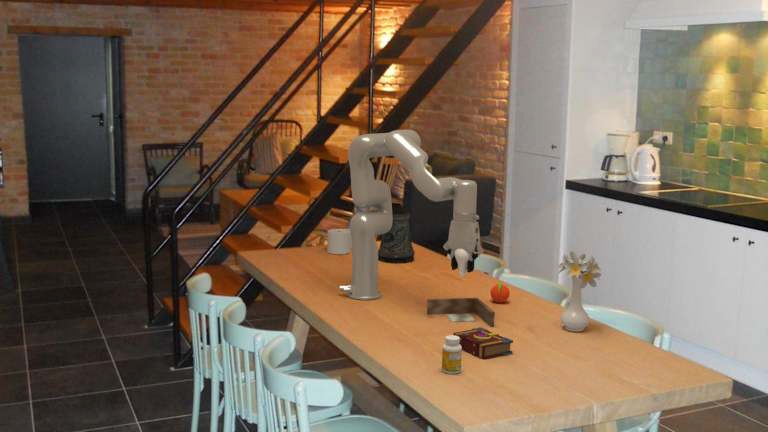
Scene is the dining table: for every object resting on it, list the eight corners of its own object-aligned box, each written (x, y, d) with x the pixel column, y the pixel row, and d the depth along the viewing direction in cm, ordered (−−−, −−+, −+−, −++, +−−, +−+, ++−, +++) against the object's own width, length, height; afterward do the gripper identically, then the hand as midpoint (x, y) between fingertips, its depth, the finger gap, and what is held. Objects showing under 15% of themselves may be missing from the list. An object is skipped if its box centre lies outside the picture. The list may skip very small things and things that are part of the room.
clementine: (508, 306, 302) (509, 287, 300) (489, 305, 303) (489, 285, 302) (509, 300, 309) (510, 281, 308) (490, 299, 311) (491, 280, 310)
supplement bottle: (440, 367, 237) (441, 334, 235) (459, 367, 238) (460, 334, 236) (443, 374, 232) (444, 340, 230) (462, 374, 232) (463, 340, 231)
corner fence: (441, 329, 273) (441, 314, 272) (426, 313, 290) (427, 299, 290) (494, 326, 277) (494, 312, 276) (476, 311, 294) (477, 297, 293)
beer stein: (414, 264, 365) (416, 207, 361) (370, 263, 366) (371, 206, 361) (414, 256, 382) (415, 201, 378) (371, 255, 382) (372, 200, 378)
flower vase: (574, 339, 265) (579, 262, 261) (544, 323, 282) (548, 250, 278) (610, 336, 269) (615, 260, 265) (578, 320, 286) (582, 248, 282)
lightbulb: (455, 273, 287) (457, 242, 285) (473, 276, 285) (475, 244, 283) (451, 278, 281) (453, 245, 279) (469, 280, 279) (471, 247, 277)
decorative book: (483, 361, 244) (483, 344, 243) (449, 345, 258) (450, 329, 257) (512, 354, 250) (513, 338, 249) (478, 339, 264) (479, 324, 263)
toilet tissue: (324, 253, 383) (324, 232, 381) (330, 248, 394) (330, 227, 393) (347, 255, 381) (348, 233, 379) (353, 249, 392) (353, 228, 391)
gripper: (492, 218, 278) (490, 272, 281) (447, 213, 287) (445, 265, 291) (482, 221, 272) (480, 276, 275) (436, 216, 281) (434, 269, 284)
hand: (462, 270), depth 283 cm, fingers closed on lightbulb, 5 cm apart
